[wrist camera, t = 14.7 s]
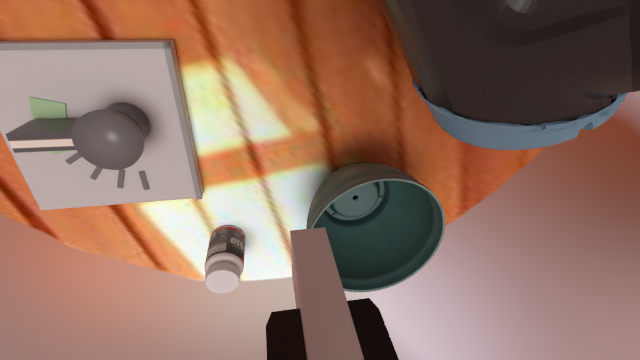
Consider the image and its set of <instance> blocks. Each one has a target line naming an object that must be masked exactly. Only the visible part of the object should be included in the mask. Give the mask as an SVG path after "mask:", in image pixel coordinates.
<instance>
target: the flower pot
mask: <svg viewBox="0 0 640 360" xmlns="http://www.w3.org/2000/svg"><path fill="white" fill-rule="evenodd" d="M380 195H381V197H380ZM353 196H357V197H358V198H357V199H353ZM334 212H335V213H334ZM332 213H334V214H332ZM323 227H325V229H326V232H327V236H328V239H329V242H330V246H331V249H332V253H333V256H334V259H335V263H336V266H337V270H338V273H339V276H340V280H341V283H342V286H343V290H344V291H349V292H371V291H376V290H381V289H385V288H388V287H391V286H394V285H396V284H398V283H400V282H402V281H404V280H406V279H408V278H409V277H411V276H413V275H414V274H415V273H417V272H418V271H419V270H421V268H423V267H424V266H425V265H426V264H427V262H428V261H429V260H430V259H431V258H432V257H433V256H434V254H435V253H436V251H437V249H438V247H439V245H440V243H441V241H442V238H443V235H444V230H445V215H444V210H443V208H442V205H441V203H440V201H439V200H438V198H437V197H436V196H435V195H434V194H433V193H432V192H431V191H430V190H429V189H428V188H427V187H426V186H424V185H423V184H421V183H419V182H418V181H417V180H416V179H414V178H413V177H412V176H410V175H409V174H407V173H405V172H403V171H401V170H399V169H397V168H394V167H391V166H388V165H384V164H378V163H354V164H348V165H345V166H343V167H341V168H339V169H337V170H335V171H334V172H333V173H332V174H331V175H330V176H329V177H328V178H327V179H326V181H325V182H324V183H323V184H322V185H321V187H320V188H319V190H318V191H317V193H316V194H315V196H314V199H313V201H312V203H311V206H310V210H309V214H308V219H307V229H313V228H323Z"/></svg>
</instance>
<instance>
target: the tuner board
mask: <svg viewBox="0 0 640 360" xmlns="http://www.w3.org/2000/svg"><path fill="white" fill-rule="evenodd" d="M29 97H35V98H40V99H46V100H51V101H56V102H62V103H66V107H67V119H79V118H80V117H81V116H83V115H84V114H86V113H88V112H90V111H93V110H99V109H105V108H107V107H108V106H109V105H111V104H114V103H119V102H124V103H129V104H132V105H134V106H136V107H138V108H139V109H141V110H142V111H143V112H144V113H145V115H146V116H147V117H148V120H149V122H150V133H149V135H148V136H147V138H146V139H145V140H144V151H143V153H142V155H141V157H140V158H139V159H138V161H137V162H136V163H135V164H133V165H132V166H130V167H128V168H125V169H121V170H125V177H124V186H123V189H122V188H117V182H118V172H119V170H108V169H102V171H101V172H100V174H99V176H98V177H97V179H96V180H93V179H91V178H90V176H91V175H92V173H93V171H94V170H95V168H96V167H97V166H95V165H93V164H91V163H90V162H88V161H87V160H85V159H84V158H83V157H81V158H79V159H78V160H76V161H75V162H73V163H72V164H70V165H69V164H68V163H67V162H66V161H65V160H67V159H68V158H70V157H71V156H73V155H74V154H76V153H77V150H71V151H67V152H64V153H61V154H57V155H54V154H53V153H52V151H45V152H21V153H14V151H13V149H12V147H11V145H10V143H9V141H8V139H7V137H6V135H5V134H7V133H9V132H10V131H12V130H14V129H16V128H18V127H20V126H21V125H23V124H25V123H27V122H29V121H30V120H33V118H41V117H36V116H31V109H30V102H29ZM0 132H1V134H2V136H3V138H4V140H5V142H6V144H7V145H8V147H9V149H10V151H11V153H12V155H13V157H14V159H15V161H16V163H17V165H18V167H19V169H20V171H21V173H22V175H23V176H24V178H25V180H26V182H27V184H28V186H29V188H30V190H31V192H32V194H33V196H34V198H35V200H36V202H37V204H38V206H39V207H40V209H41V210H51V209H63V208H76V207H88V206H101V205H113V204H126V203H138V202H151V201H163V200H176V199H188V198H196V199H202V196H203V192H204V190H203V185H202V180H201V175H200V170H199V165H198V160H197V155H196V150H195V145H194V140H193V135H192V130H191V125H190V120H189V115H188V110H187V105H186V100H185V95H184V90H183V85H182V80H181V75H180V70H179V65H178V60H177V55H176V50H175V45H174V40H173V39H172V40H43V41H0ZM139 171H145V174H146V178H147V181H148V184H149V188H150V189H149V190H144V189H143V185H142V182H141V179H140V176H139V173H138V172H139Z"/></svg>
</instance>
